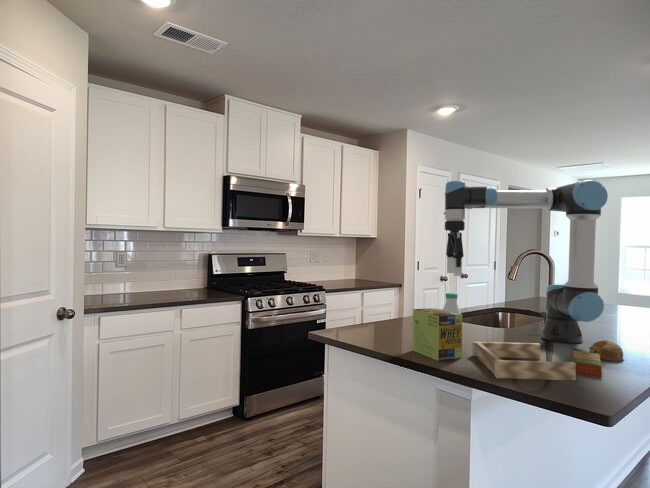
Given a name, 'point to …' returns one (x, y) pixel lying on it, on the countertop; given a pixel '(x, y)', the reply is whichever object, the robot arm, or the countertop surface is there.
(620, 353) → the bread roll
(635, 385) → the countertop surface
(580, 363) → the carton
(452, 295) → the milk bottle
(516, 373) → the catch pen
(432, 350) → the protein box
